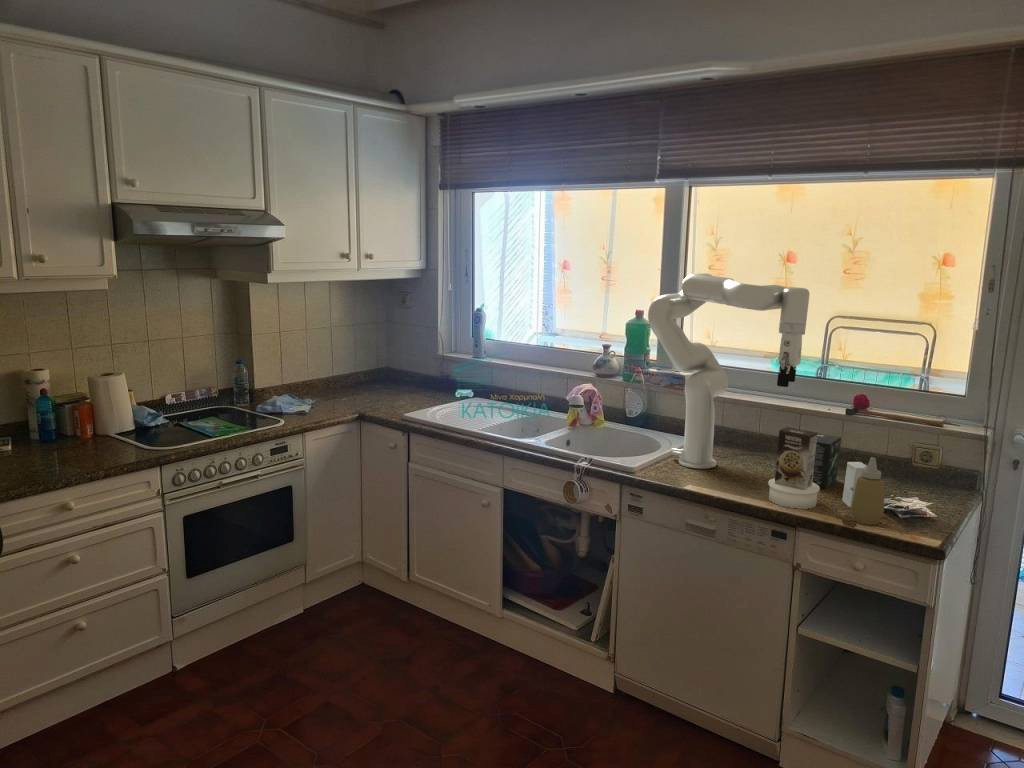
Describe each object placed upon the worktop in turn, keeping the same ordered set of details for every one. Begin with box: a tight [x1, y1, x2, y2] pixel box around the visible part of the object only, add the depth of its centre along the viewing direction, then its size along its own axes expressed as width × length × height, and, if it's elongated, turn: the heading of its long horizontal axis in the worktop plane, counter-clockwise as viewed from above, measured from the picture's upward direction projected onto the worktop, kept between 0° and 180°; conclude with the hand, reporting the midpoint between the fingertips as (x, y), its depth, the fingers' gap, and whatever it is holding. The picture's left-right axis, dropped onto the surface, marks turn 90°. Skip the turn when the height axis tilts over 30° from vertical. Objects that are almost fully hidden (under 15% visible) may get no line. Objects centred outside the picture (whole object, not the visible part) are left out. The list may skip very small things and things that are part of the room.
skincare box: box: [842, 461, 868, 509], centre depth 214 cm, size 6×4×12 cm
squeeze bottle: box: [851, 456, 885, 526], centre depth 200 cm, size 8×8×18 cm
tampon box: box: [812, 432, 842, 490], centre depth 234 cm, size 11×9×15 cm
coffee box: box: [774, 426, 819, 490], centre depth 215 cm, size 9×6×16 cm
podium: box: [767, 477, 821, 510], centre depth 217 cm, size 14×14×5 cm
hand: (785, 383), depth 229 cm, fingers open, 9 cm apart
